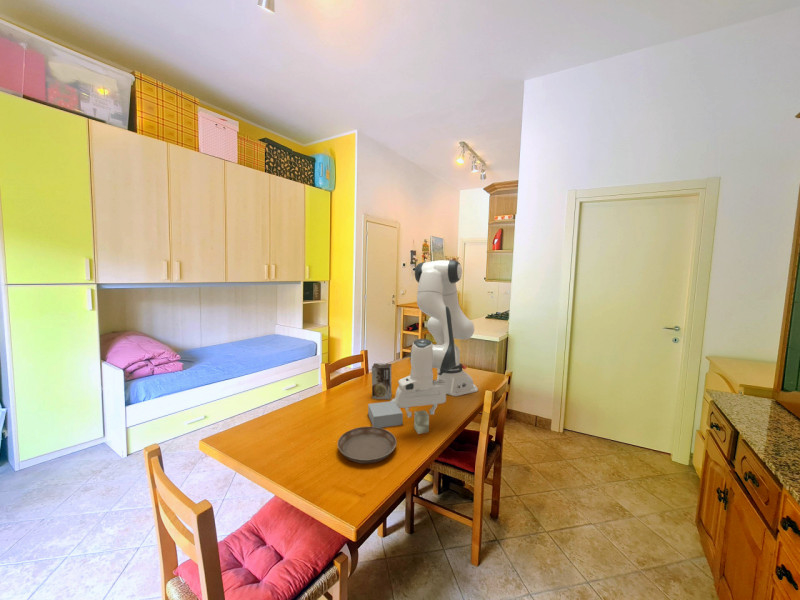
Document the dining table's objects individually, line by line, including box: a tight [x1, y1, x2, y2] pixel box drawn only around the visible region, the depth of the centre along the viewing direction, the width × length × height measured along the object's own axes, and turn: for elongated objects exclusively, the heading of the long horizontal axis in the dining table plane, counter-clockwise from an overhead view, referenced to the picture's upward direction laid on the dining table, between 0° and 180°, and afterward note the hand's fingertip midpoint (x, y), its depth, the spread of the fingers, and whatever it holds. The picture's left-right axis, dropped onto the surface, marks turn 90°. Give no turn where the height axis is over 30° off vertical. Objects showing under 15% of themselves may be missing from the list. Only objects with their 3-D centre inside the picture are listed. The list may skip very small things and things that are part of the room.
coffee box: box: [371, 363, 393, 400], centre depth 154 cm, size 9×6×16 cm
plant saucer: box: [337, 426, 397, 464], centre depth 111 cm, size 21×21×3 cm
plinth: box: [367, 400, 404, 429], centre depth 132 cm, size 12×12×5 cm
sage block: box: [413, 409, 430, 435], centre depth 124 cm, size 4×4×7 cm
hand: (420, 415), depth 123 cm, fingers open, 8 cm apart
